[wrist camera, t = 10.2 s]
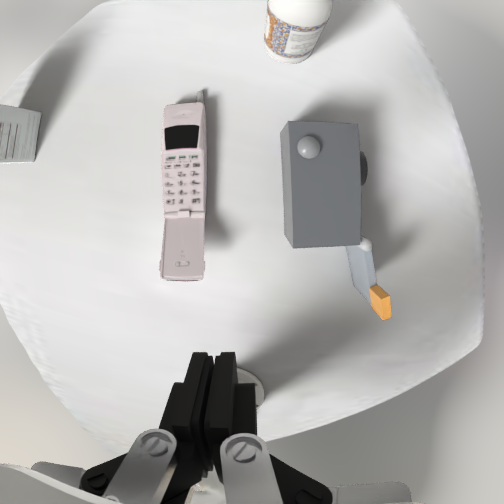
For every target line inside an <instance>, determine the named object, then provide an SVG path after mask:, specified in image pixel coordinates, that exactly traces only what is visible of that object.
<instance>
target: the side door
mask: <svg viewBox="0 0 504 504" xmlns="http://www.w3.org/2000/svg"><path fill="white" fill-rule="evenodd" d="M372 247H373V244H372V242H371V241H370V240H368V239H367V238H365V237H363V236H361V235H360V245H354V246H346V249H347V253H348V258H349V263H350V268H351V273H352V278H353V284H354V286H355V288H356V289H357V290H358V291H359V292H360V293H361V294H362V295H363V296H364V297H365V299H366V300H367V301H368V302H369V303H370V304H371V306H372V309H373V310H374V311H375V312H376V313H377V314H378V315H379V317H380V318H381V319H382V320H383V321H384V320H386V319H389V318H391V317H392V315H391V303H390V296H389V295H388V294H387V293H386V292H385V291H384V290H383V289H382V288H381V287H380V286H378V285H377V283H376V276H375V269H374V263H373V257H372V251H371V249H372Z"/></svg>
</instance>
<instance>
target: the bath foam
mask: <svg viewBox="0 0 504 504" xmlns="http://www.w3.org/2000/svg"><path fill="white" fill-rule="evenodd" d="M331 11H332V0H268V4H267V14H266V24H265V33H264V47H265V50H266V52H267V53H268V54H269V56H271V57H272V58H273V59H275V60H276V61H279V62H282V63H287V64H295V63H299V62H302V61H304V60H305V59H307V58H308V56H309V55H310V54H311V52H312V50H313V48H314V46H315V44H316V42H317V41H318V39H319V37H320V35H321V33H322V31H323V29H324V27H325V25H326V23H327V21H328V18H329V16H330V14H331Z"/></svg>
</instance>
